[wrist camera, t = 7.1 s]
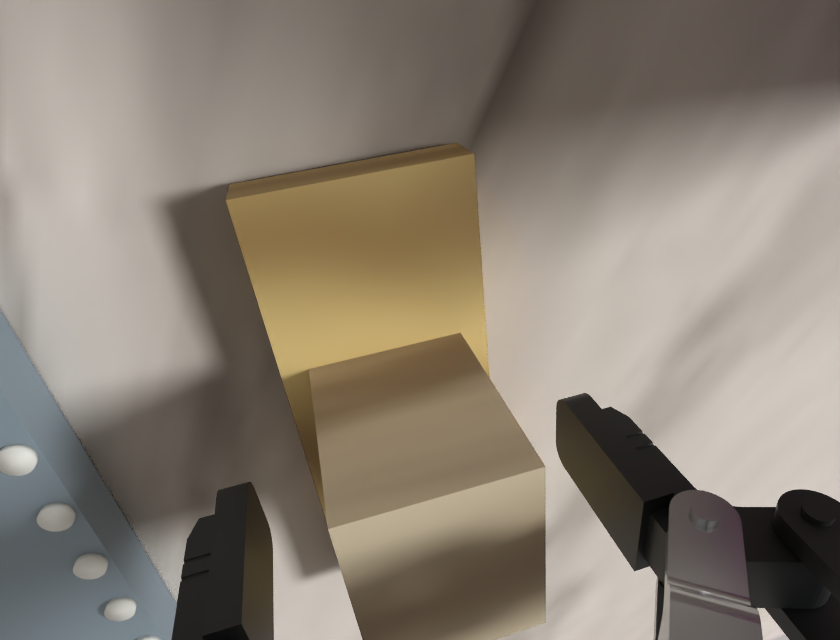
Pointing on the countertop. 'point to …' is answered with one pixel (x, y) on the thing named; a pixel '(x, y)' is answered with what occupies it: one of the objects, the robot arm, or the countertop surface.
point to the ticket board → (64, 528)
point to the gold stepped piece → (399, 391)
